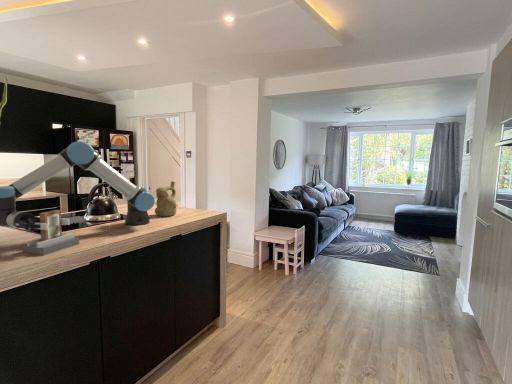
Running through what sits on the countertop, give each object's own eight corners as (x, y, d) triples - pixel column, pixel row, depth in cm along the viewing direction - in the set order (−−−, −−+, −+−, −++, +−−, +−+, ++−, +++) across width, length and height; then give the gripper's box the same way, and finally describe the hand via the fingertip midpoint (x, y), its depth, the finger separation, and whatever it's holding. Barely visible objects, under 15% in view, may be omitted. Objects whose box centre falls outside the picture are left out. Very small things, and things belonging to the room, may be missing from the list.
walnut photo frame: (57, 238, 139) (55, 209, 137) (62, 239, 139) (60, 210, 137) (41, 244, 130) (39, 213, 129) (46, 244, 130) (44, 213, 128)
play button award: (92, 218, 194) (60, 224, 176) (92, 221, 194) (60, 226, 177) (79, 215, 202) (47, 220, 185) (79, 218, 202) (47, 223, 185)
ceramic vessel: (148, 216, 212) (148, 182, 210) (166, 211, 230) (166, 180, 227) (167, 218, 206) (166, 183, 203) (184, 214, 224) (184, 181, 221)
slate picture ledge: (59, 241, 145) (59, 231, 144) (79, 243, 142) (78, 233, 141) (22, 252, 128) (21, 241, 127) (43, 255, 125) (43, 243, 124)
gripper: (45, 223, 149) (79, 226, 144) (-5, 233, 128) (34, 238, 122) (44, 208, 149) (79, 212, 143) (-6, 217, 127) (32, 221, 121)
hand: (58, 224), depth 132 cm, fingers open, 10 cm apart
